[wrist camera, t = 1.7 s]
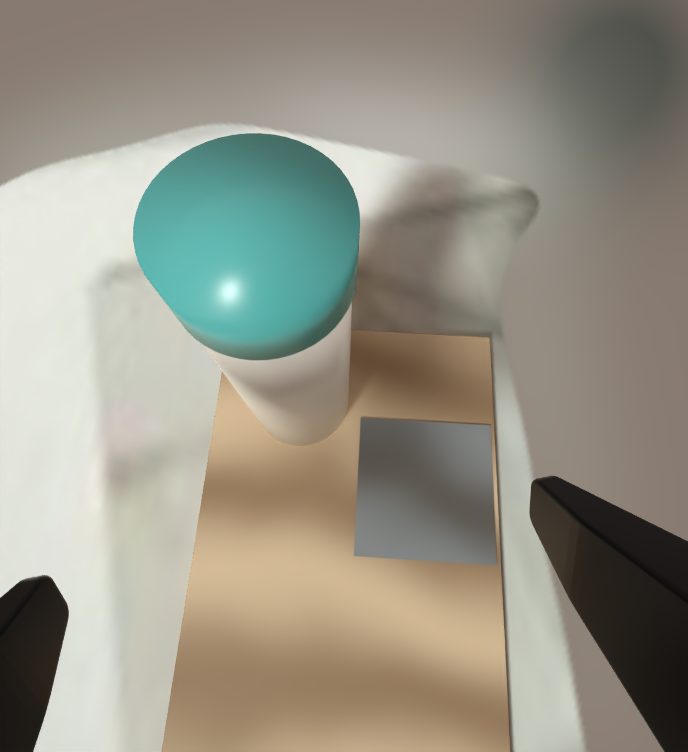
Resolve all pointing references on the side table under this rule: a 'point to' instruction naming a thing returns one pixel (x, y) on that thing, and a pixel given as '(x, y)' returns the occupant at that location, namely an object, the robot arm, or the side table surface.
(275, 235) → the ball
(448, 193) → the side table surface
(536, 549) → the side table surface
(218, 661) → the board
